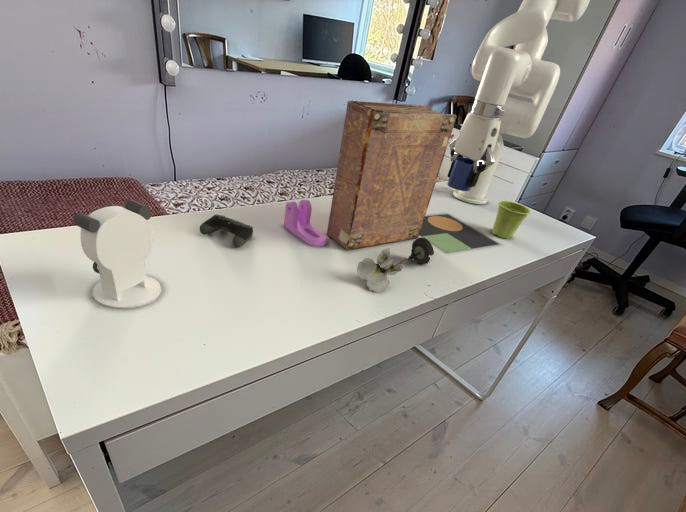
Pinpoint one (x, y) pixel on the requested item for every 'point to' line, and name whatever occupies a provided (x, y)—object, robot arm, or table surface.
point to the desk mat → (452, 234)
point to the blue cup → (461, 174)
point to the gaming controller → (228, 228)
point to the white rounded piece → (120, 254)
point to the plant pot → (509, 218)
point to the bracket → (303, 223)
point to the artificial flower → (391, 265)
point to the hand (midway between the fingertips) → (460, 181)
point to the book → (386, 172)
